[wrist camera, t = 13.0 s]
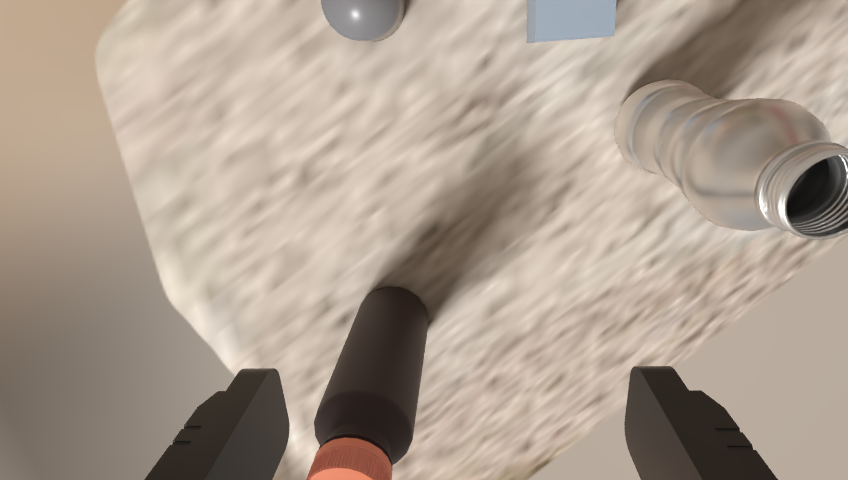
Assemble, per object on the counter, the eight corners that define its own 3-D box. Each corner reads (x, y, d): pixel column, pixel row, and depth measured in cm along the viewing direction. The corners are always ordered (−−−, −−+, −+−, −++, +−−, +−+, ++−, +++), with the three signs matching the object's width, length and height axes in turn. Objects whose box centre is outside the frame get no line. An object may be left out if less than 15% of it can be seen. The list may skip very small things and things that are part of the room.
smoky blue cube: (598, -40, 33) (620, -54, 29) (594, 37, 35) (614, 35, 31) (527, -33, 34) (536, -45, 29) (526, 43, 36) (535, 42, 31)
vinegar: (377, 273, 44) (313, 435, 26) (441, 305, 45) (424, 486, 26) (348, 326, 46) (270, 509, 28) (409, 356, 47) (372, 554, 29)
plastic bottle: (705, 83, 36) (964, 120, 17) (676, 170, 38) (873, 284, 20) (620, 71, 36) (784, 96, 17) (597, 159, 38) (718, 262, 20)
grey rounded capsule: (401, -36, 34) (391, -49, 30) (407, 38, 36) (399, 37, 32) (335, -30, 35) (315, -41, 30) (344, 43, 37) (326, 43, 32)
